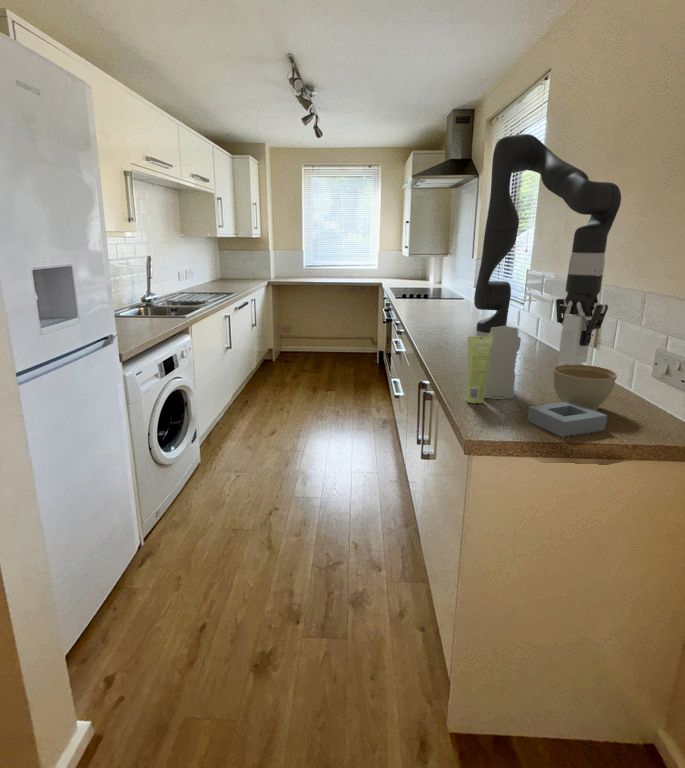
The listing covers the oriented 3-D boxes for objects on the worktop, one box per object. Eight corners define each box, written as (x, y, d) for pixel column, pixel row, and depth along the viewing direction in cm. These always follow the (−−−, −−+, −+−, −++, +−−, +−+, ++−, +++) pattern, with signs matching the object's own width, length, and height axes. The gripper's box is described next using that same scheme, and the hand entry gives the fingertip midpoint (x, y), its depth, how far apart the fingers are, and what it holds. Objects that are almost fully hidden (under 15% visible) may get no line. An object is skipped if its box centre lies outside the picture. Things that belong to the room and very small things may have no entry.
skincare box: (570, 359, 125) (577, 312, 122) (587, 363, 121) (594, 314, 118) (556, 362, 121) (562, 313, 118) (573, 366, 118) (580, 316, 115)
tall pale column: (511, 395, 150) (519, 324, 144) (516, 399, 146) (525, 326, 140) (477, 395, 150) (484, 324, 143) (481, 400, 146) (488, 326, 140)
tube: (471, 397, 148) (477, 333, 143) (487, 401, 145) (493, 336, 139) (462, 401, 144) (467, 336, 139) (478, 405, 141) (484, 338, 135)
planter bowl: (548, 396, 150) (552, 361, 147) (606, 402, 145) (613, 367, 141) (548, 412, 136) (553, 374, 133) (614, 420, 130) (621, 381, 127)
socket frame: (527, 421, 129) (529, 406, 128) (568, 414, 134) (570, 401, 133) (562, 437, 118) (564, 422, 117) (604, 430, 123) (607, 415, 122)
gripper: (550, 271, 120) (541, 339, 125) (598, 274, 108) (586, 350, 112) (574, 270, 123) (564, 337, 128) (623, 274, 110) (611, 348, 115)
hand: (575, 343), depth 120 cm, fingers closed on skincare box, 5 cm apart
